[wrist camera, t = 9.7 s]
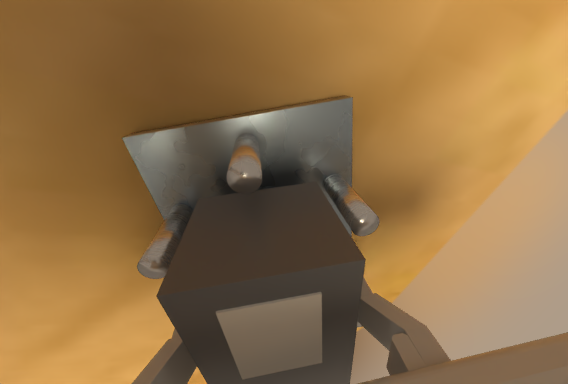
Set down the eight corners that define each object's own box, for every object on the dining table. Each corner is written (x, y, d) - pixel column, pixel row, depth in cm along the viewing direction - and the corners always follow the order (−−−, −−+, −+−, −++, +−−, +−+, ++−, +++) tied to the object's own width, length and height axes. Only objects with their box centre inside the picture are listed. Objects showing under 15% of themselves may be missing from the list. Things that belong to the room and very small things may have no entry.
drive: (198, 198, 10) (155, 298, 5) (316, 181, 10) (366, 261, 6) (239, 325, 15) (235, 433, 10) (318, 310, 15) (347, 408, 11)
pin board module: (132, 133, 11) (50, 170, 6) (344, 95, 11) (403, 107, 7) (222, 318, 18) (213, 393, 14) (346, 291, 19) (374, 355, 15)
